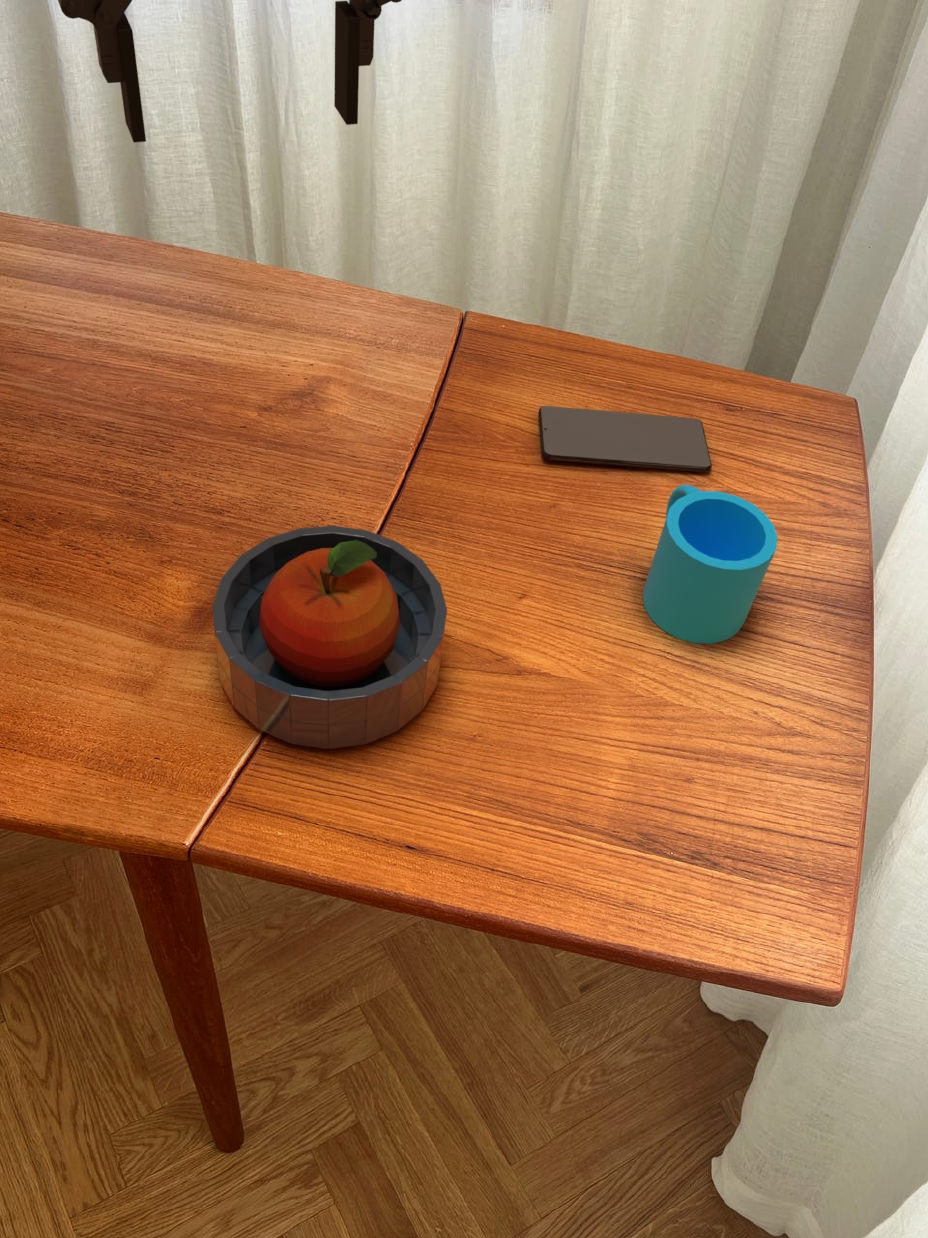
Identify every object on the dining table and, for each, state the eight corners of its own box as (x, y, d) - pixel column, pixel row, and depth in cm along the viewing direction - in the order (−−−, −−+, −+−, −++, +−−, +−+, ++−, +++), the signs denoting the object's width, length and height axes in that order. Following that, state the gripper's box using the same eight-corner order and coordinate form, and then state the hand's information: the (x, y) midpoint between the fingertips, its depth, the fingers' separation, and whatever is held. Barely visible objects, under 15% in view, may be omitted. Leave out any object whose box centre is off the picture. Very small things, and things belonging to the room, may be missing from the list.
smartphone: (713, 467, 96) (543, 454, 95) (710, 475, 97) (541, 462, 96) (701, 417, 101) (538, 403, 100) (699, 425, 102) (537, 411, 100)
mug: (761, 638, 85) (795, 565, 79) (661, 648, 83) (687, 574, 77) (708, 529, 93) (735, 453, 86) (615, 536, 91) (636, 460, 85)
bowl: (175, 699, 76) (166, 643, 72) (289, 555, 86) (287, 498, 82) (379, 787, 73) (382, 735, 69) (473, 628, 83) (481, 573, 78)
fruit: (238, 636, 80) (229, 537, 72) (354, 589, 84) (357, 491, 76) (300, 731, 75) (298, 636, 67) (421, 677, 79) (431, 581, 71)
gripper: (-40, -291, 49) (49, 169, 65) (480, -274, 57) (446, 134, 73) (-55, -329, 54) (32, 110, 70) (430, -309, 61) (408, 83, 77)
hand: (243, 123), depth 71 cm, fingers open, 13 cm apart
